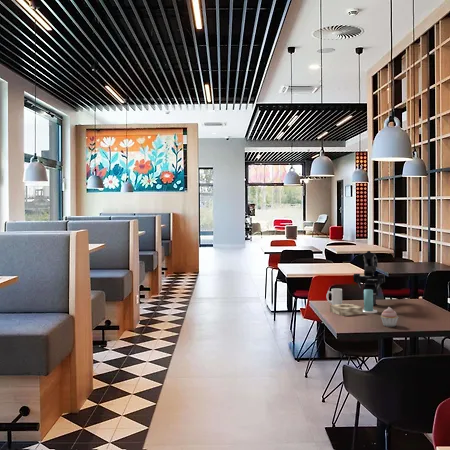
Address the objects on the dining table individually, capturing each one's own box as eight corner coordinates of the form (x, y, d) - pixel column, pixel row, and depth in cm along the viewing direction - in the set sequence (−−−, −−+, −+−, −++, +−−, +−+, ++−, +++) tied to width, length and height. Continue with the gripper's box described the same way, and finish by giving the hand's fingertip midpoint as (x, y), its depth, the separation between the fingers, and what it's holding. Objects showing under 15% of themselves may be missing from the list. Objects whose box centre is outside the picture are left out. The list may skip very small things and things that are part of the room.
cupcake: (386, 322, 265) (385, 304, 265) (402, 325, 258) (401, 306, 258) (376, 325, 259) (376, 306, 259) (392, 328, 252) (392, 309, 252)
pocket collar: (349, 309, 304) (349, 303, 304) (362, 313, 290) (362, 307, 290) (329, 311, 299) (329, 305, 299) (342, 315, 286) (341, 309, 286)
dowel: (367, 309, 300) (366, 289, 300) (375, 310, 296) (374, 289, 296) (362, 310, 297) (362, 290, 296) (370, 311, 293) (369, 290, 292)
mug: (342, 307, 313) (342, 288, 313) (342, 308, 307) (341, 289, 307) (326, 306, 316) (326, 288, 316) (326, 308, 310) (325, 289, 310)
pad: (370, 309, 303) (370, 308, 303) (380, 312, 293) (380, 311, 293) (357, 310, 300) (357, 309, 300) (366, 313, 290) (366, 312, 290)
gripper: (353, 260, 307) (352, 280, 297) (384, 261, 301) (384, 281, 291) (354, 271, 315) (353, 291, 304) (384, 272, 309) (384, 292, 298)
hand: (368, 289), depth 299 cm, fingers open, 9 cm apart
